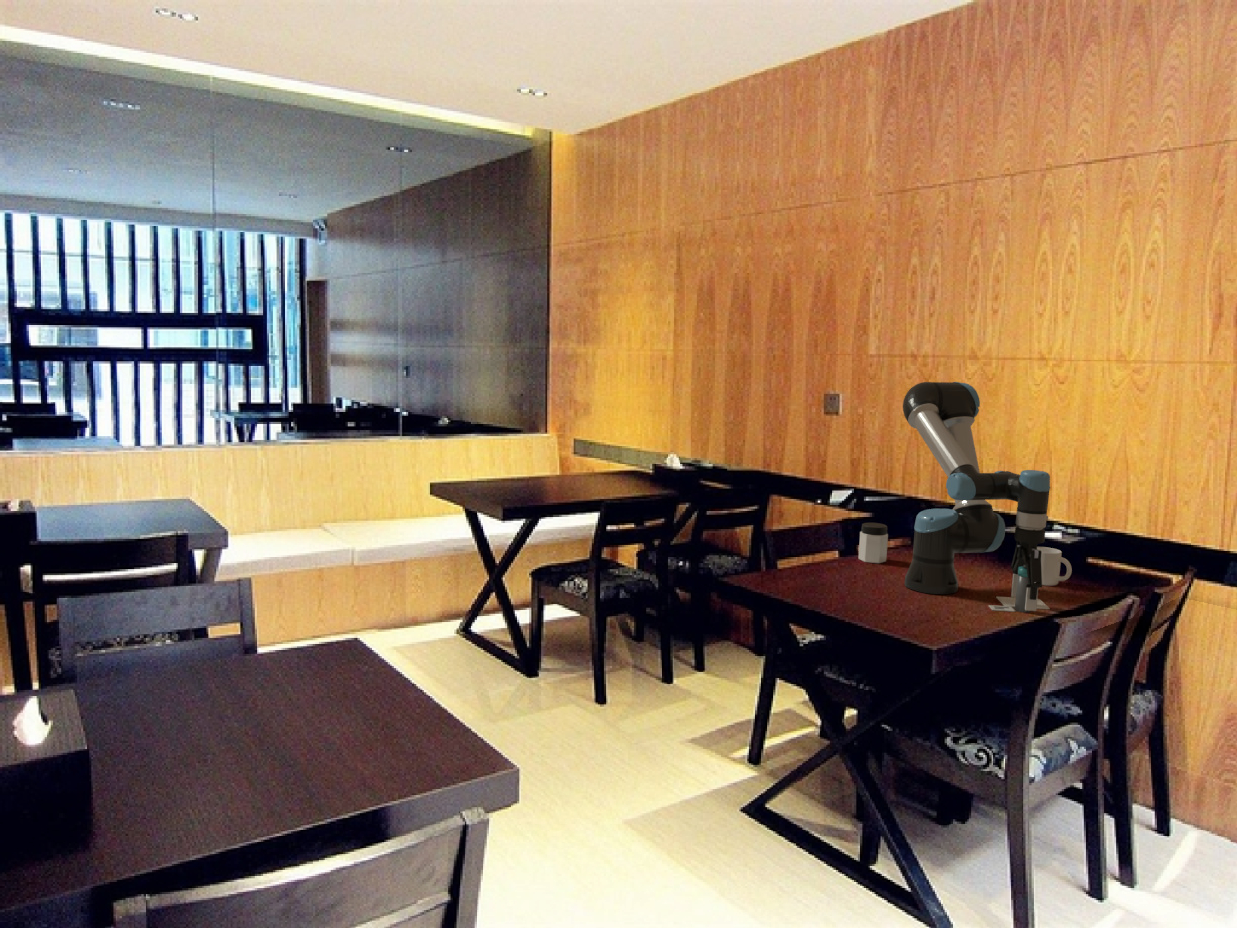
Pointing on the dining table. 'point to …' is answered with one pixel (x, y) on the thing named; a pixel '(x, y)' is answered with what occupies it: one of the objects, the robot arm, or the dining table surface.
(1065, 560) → the mug
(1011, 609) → the word card
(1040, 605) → the paper
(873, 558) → the jar
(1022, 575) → the grey teal battery
